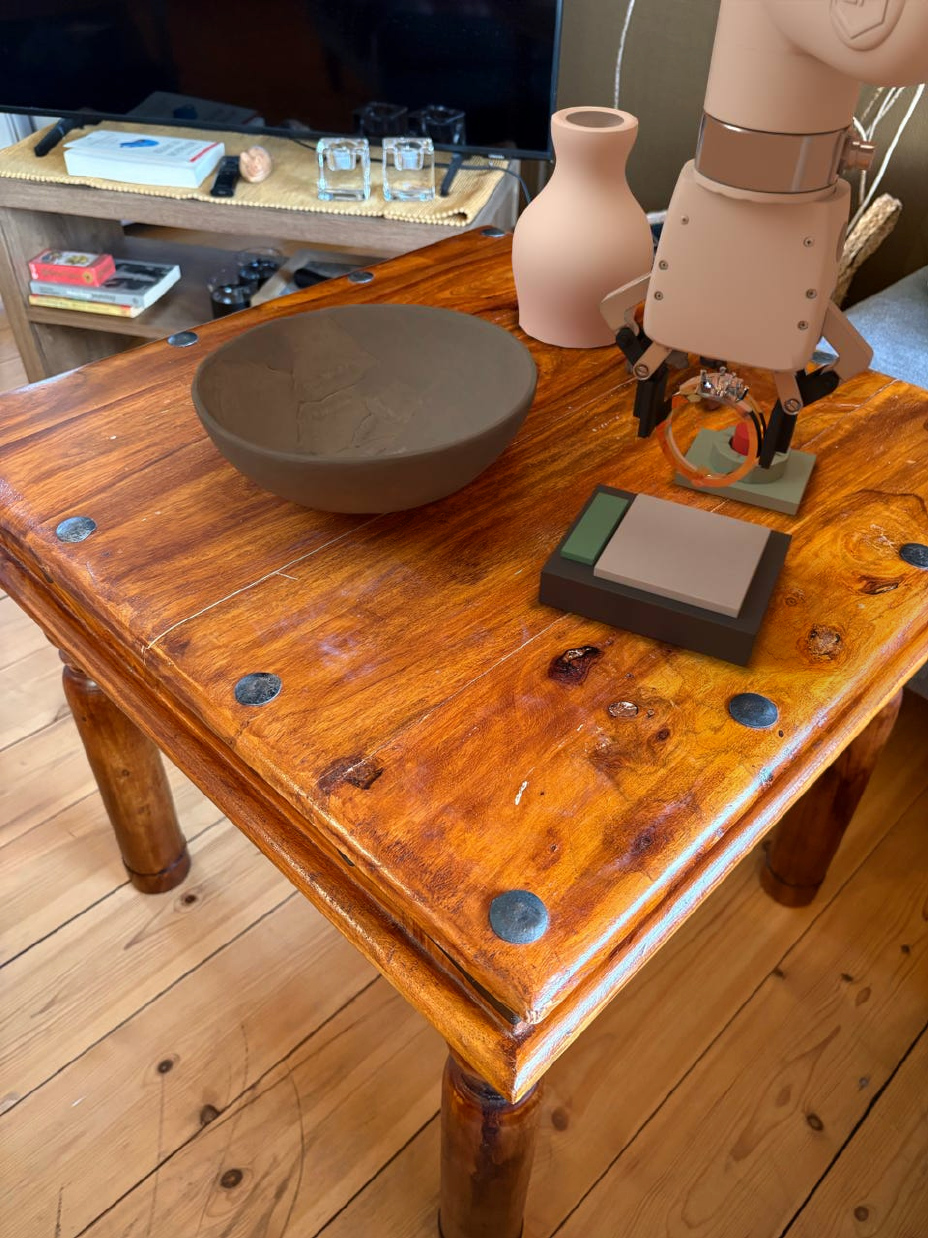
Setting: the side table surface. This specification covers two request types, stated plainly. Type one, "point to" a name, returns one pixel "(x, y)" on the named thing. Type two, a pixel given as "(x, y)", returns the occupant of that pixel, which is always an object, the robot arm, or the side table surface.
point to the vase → (581, 231)
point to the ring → (725, 392)
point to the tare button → (741, 439)
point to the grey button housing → (760, 485)
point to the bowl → (366, 403)
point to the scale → (667, 572)
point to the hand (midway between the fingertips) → (707, 441)
